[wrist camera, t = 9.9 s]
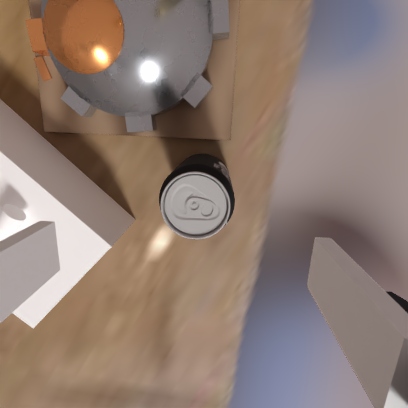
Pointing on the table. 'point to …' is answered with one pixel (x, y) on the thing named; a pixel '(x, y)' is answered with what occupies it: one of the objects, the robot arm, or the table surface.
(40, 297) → the tissue box
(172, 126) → the board
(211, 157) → the beverage can
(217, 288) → the table surface
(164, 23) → the sprocket
